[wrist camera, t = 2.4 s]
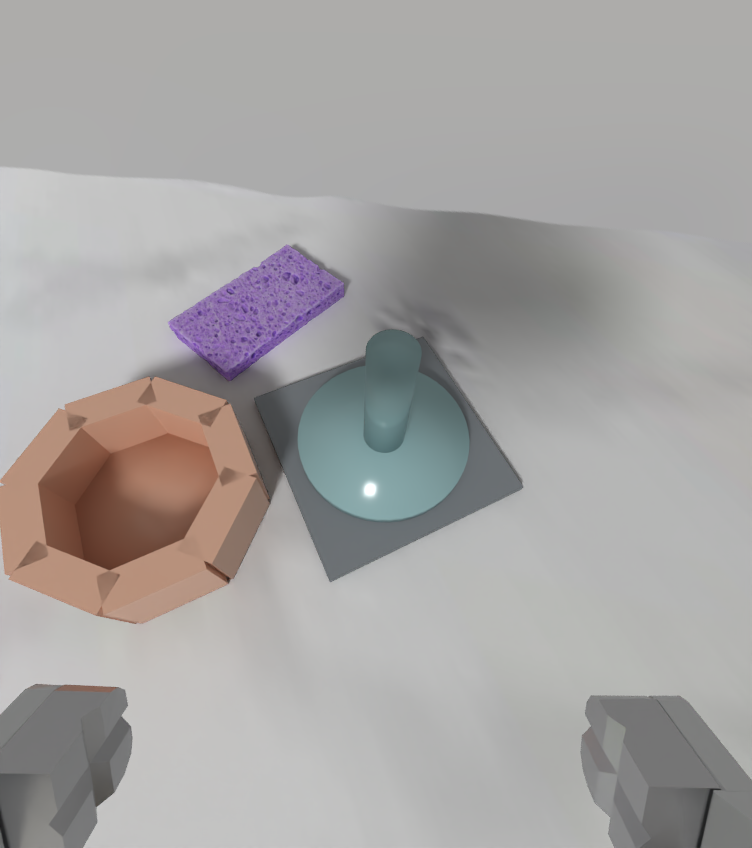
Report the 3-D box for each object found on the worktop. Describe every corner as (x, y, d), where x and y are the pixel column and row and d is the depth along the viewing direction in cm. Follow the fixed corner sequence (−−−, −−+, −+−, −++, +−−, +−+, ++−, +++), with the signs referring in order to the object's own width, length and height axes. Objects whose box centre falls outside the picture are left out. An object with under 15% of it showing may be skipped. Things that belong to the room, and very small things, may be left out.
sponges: (345, 299, 39) (345, 283, 37) (229, 387, 34) (223, 373, 32) (290, 259, 41) (287, 242, 39) (173, 336, 36) (165, 320, 34)
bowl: (39, 460, 30) (-9, 428, 26) (229, 393, 33) (212, 355, 29) (67, 657, 25) (12, 655, 21) (291, 554, 28) (281, 535, 24)
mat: (255, 401, 33) (253, 398, 32) (422, 340, 36) (423, 336, 36) (330, 582, 27) (329, 580, 27) (521, 489, 30) (523, 486, 30)
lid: (275, 405, 32) (245, 306, 23) (416, 352, 35) (437, 246, 26) (340, 553, 27) (332, 498, 19) (498, 478, 30) (556, 400, 21)
